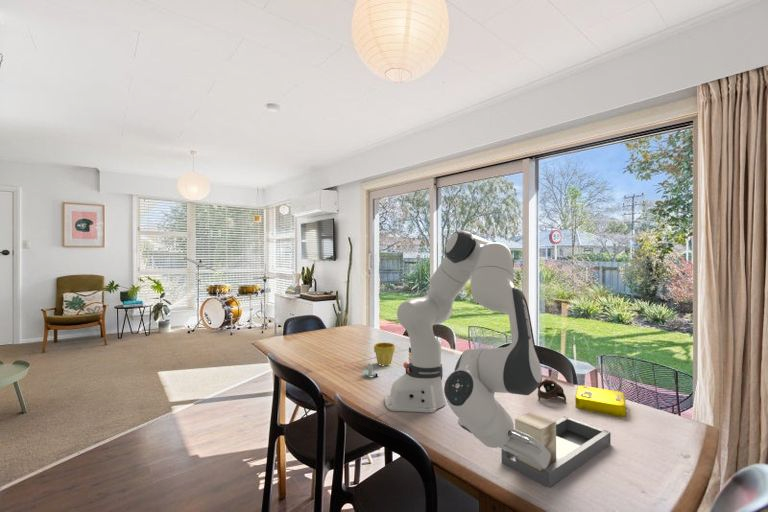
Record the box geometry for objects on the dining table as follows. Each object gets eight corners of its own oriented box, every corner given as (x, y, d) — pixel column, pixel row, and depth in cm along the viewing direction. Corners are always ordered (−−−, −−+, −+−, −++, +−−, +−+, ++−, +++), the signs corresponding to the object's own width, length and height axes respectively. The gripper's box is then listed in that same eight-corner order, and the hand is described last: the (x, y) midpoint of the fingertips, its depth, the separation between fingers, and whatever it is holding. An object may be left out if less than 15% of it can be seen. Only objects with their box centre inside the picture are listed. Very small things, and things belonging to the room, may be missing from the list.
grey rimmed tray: (549, 488, 83) (549, 472, 83) (501, 462, 93) (501, 448, 93) (610, 444, 102) (610, 432, 102) (565, 427, 113) (565, 415, 113)
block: (541, 471, 86) (540, 429, 86) (515, 457, 92) (515, 418, 92) (556, 461, 90) (556, 421, 90) (530, 449, 96) (530, 411, 96)
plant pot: (394, 367, 174) (394, 347, 174) (373, 367, 174) (373, 347, 175) (394, 361, 185) (394, 342, 185) (374, 361, 185) (374, 342, 185)
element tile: (626, 419, 118) (626, 405, 119) (575, 409, 126) (574, 396, 127) (624, 403, 131) (624, 390, 131) (578, 395, 139) (578, 383, 139)
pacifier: (370, 373, 167) (361, 376, 162) (370, 359, 167) (361, 362, 162) (382, 376, 162) (372, 379, 157) (382, 362, 162) (373, 365, 157)
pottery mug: (572, 406, 130) (564, 388, 128) (547, 416, 131) (539, 398, 130) (558, 386, 141) (551, 369, 140) (536, 395, 143) (528, 379, 141)
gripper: (540, 429, 74) (565, 460, 79) (464, 398, 90) (489, 426, 96) (528, 458, 71) (554, 488, 77) (451, 420, 88) (478, 448, 93)
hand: (517, 453), depth 87 cm, fingers closed
